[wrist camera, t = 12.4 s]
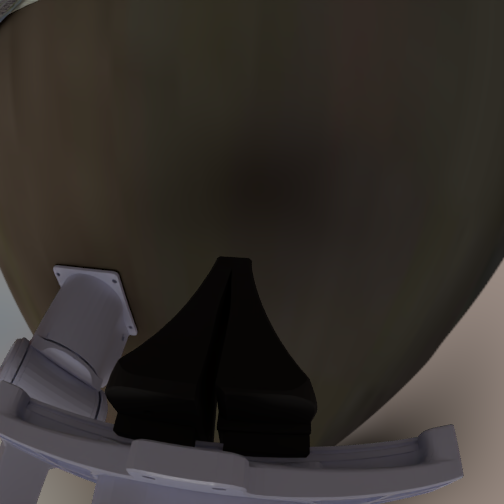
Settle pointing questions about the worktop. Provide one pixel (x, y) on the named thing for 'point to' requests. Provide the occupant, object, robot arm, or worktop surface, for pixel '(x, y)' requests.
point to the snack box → (7, 7)
